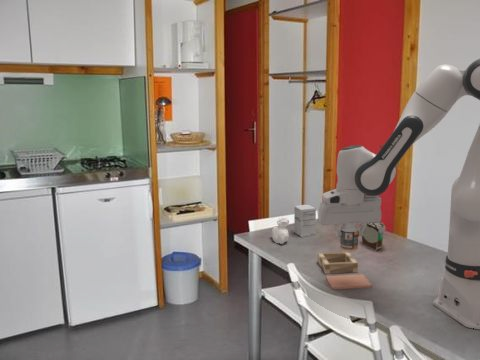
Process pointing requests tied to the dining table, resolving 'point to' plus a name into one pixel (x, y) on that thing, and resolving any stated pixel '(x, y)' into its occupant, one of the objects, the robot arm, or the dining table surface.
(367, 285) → the mat
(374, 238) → the food container
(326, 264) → the block
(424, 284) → the dining table surface
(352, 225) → the pill bottle
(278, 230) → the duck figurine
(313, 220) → the supplement box
